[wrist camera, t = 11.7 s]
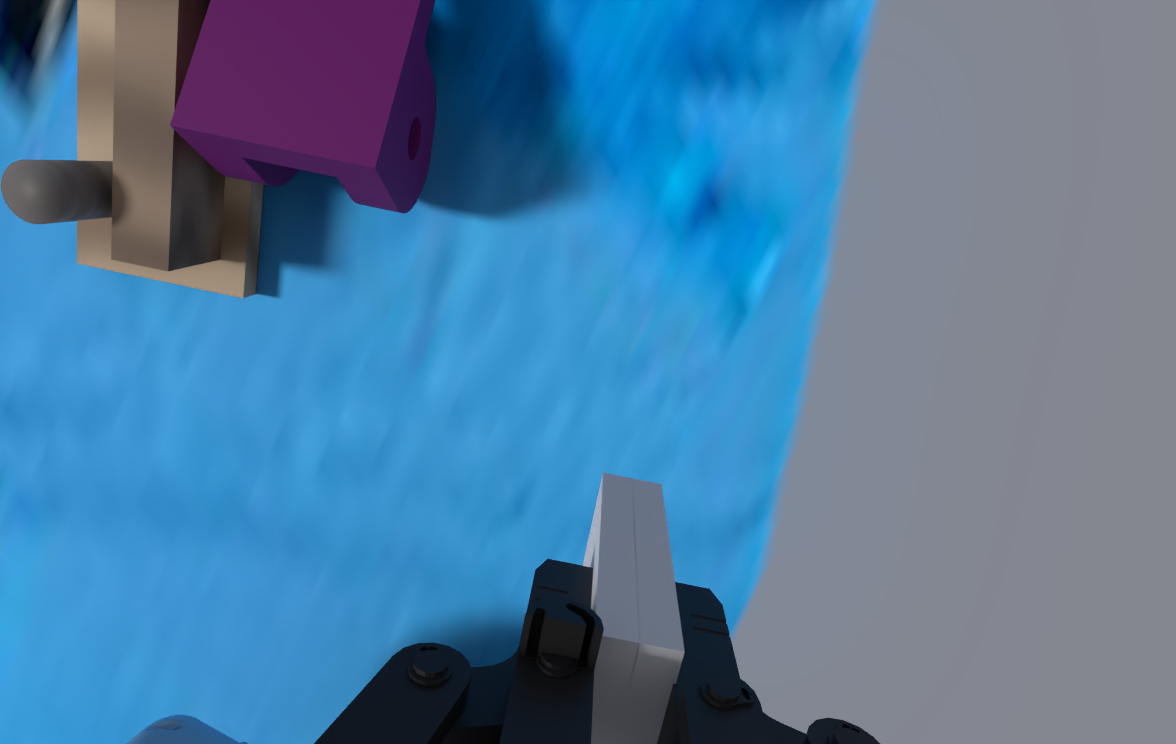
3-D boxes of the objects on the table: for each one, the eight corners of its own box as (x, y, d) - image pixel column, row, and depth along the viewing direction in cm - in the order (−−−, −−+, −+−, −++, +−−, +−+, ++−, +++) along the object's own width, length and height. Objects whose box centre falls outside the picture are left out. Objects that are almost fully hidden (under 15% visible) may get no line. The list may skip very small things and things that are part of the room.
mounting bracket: (330, -73, 44) (247, 200, 41) (278, -206, 35) (168, 125, 32) (482, -40, 44) (411, 234, 41) (466, -165, 35) (374, 169, 32)
